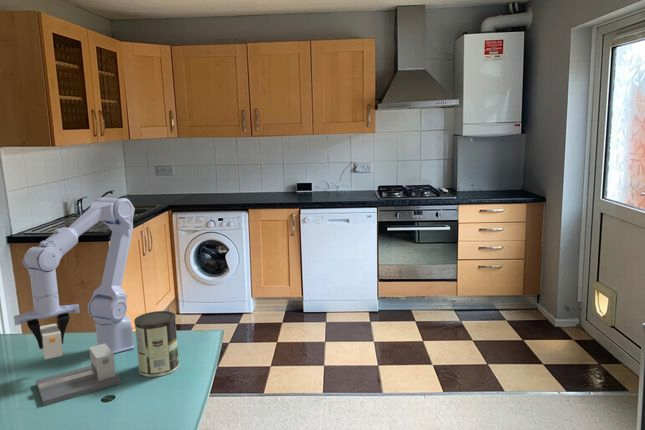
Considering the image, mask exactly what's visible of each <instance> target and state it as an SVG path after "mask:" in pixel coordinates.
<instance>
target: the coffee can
mask: <svg viewBox="0 0 645 430" xmlns="http://www.w3.org/2000/svg"><path fill="white" fill-rule="evenodd" d="M176 318H177V317H176V313H174V312H173V311H169V310H159V311H158V310H157V311H150V312H146V313H143V314H140V315H138V316H137V317H136V318H134V320H133V323H134V329H135V338H136V347H137V360H138V361H137V362H138V372H139V374H140V375H141V376H144V377H148V378H157V377H162V376H165V375H166V376H167V375H169V374H172V373H174V372H175V371H176V370H177V369H179V367H180V360H179V349H178V339H177V325H176Z"/></svg>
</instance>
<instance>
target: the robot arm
mask: <svg viewBox="0 0 645 430" xmlns="http://www.w3.org/2000/svg"><path fill="white" fill-rule="evenodd" d="M89 206H90V207H89V208H88V209H87V210H86V211H85V212H83V214H81V215H80V216H79V217H78V218H77V219H76V220H75V221H74V222H73V223H71V224H70V225H69V227H60V228H59V227H58V228H57V227H56V229H54V230H53V233H52V234H51V235H50V236H49V237H47V238H46V239H44V240H42V241H40V242H39V245H38V246H32V247H30V248H29V249H28V250H27V251H26V252H25V254H24V257H23V259H22V260H21V261H22V264H23V265H22V266H24V268H26V269H27V271H28V272H27V273H28V275H29V280H30V286H31V296H32V304H33V305H32V307H33V310H32V311H28V312H27V311H26V312H24V313H20V314H17V315H14V316H13V321H14V325H15V326H19V325H21V324H27V326H28V328H29V330H30V331H31V333H32V334H33V335H34V337H35V339H36V341H37V344H38V348H39V350H41V349H42V348H43V345H42V340H41V334H40V320H45V319H46V320H47V319H51V318H55V317H56V322H57V323H56V324H57V326H58V328H59V330H60V332H61V340H62V345H63V344H64V338H65V333H66V329H67V327H68V324H69V322H70V315H71V314H80V305H79V304H78V303H75V304H74V303H73V304H68V305H67V304H65V305H60V299H59V297H60V296H59V289H58V288H59V287H58V280H57V279H58V278H57V272H56V269H57V268H58V266H59V264H60V261H61V259H62V258H63V256H65V255H66V254H67V253H68V252H69V251H70V250H71V249H73V248H74V247H75V246H76V245H77V244H78V243H79V237H80V236H82V235H83V234H84V233H86V232H88V230H90V229H91V228H92V227H94V226H96V225H97V224H98V223H99V222H102V223H104V224H105V225H106V226H107V227H108V228H109V229H110V231H111V236H110V241H109V245H108V250H107V256H106V260H105V264H104V271H103V275H102V280H101V285H99V286H98V287H97V288H95V290H93V291H92V292H93V293H92V297H91V298H90V300H89V302H88V304H87V313H88V314H89V316H90V317H92V318H93V320H92V321H94V325H95V326H94V327H95V333H96V336H95V337H96V345H100V344H104V343H105V344H106V345H107V346H108V347H109V349H110V350H111V351H112V353H113V355H114V354H118V353H120V352H121V353H122V352H125V351H128V350H129V351H130V350H132V349H135V345H134V336H133V325H132V320H131V318H130V316H129V315H126V314H127V312H128V305H127V300H128V299H127V298H128V295H127V294H126V292H125V291H124V289H123V288H122V286H123V281H124V276H125V270H126V266H127V261H128V257H129V251H130V246H131V241H132V236H133V231H134V221H133V220H134V217H135V216H134V215H135V210H136V208H135V207H134V205H133V204H132V202H131V201H130V199H128V198H126V197H125V198H124V197H122V198H118V197H117V198H115V197H103V196H102V197H99V198H97V199H95V201H93V202H91V203H90V205H89ZM69 314H70V315H69Z"/></svg>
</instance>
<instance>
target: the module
mask: <svg viewBox="0 0 645 430" xmlns="http://www.w3.org/2000/svg"><path fill="white" fill-rule="evenodd" d="M40 334H41V340H42V345H43V348H42V349H40V350H41V351H43V357H44V360H47V359H48V360H49V359H53V358H58V357H62V356H63V355H64V354H63V352H64V351H63V344H62V340H61V332H60V330H59V328H58V324H57V323H52V324H46V325H45V324H44V325H41V326H40Z"/></svg>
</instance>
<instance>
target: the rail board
mask: <svg viewBox="0 0 645 430" xmlns="http://www.w3.org/2000/svg"><path fill="white" fill-rule="evenodd" d="M88 349H89V361H90V365H87V366H84V367H81V368H77V369H73V370H69V371H65V372H61V373H57V374H54V375H50V376H46V377H42V378H39V379H36V380H35V384H36V387H37V390H38V393H39V397H40V399H41V402H42V404H43V407H45V406H49V405H53V404H55V403H56V404H57V403H59V402H62V401H65V400H70V399H72V398H77V397H80V396H82V395H87V394H90V393H93V392H97V391H100V390H102V389H103V388H104V389H107V388H111V387H114V386H117V385H116V384H118V385H120V384H121V378H120V377H119V375H118V374H117V373H116V367H115V366H116V365H115V357H114V354H113V353H112V351H111V350H110V349H109V347H108V346H107V345H106V344H105V343H104V344H100V345H97V344H96V345H93V346H90V347H88ZM113 385H114V386H113ZM110 386H111V387H110ZM106 387H107V388H106Z"/></svg>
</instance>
